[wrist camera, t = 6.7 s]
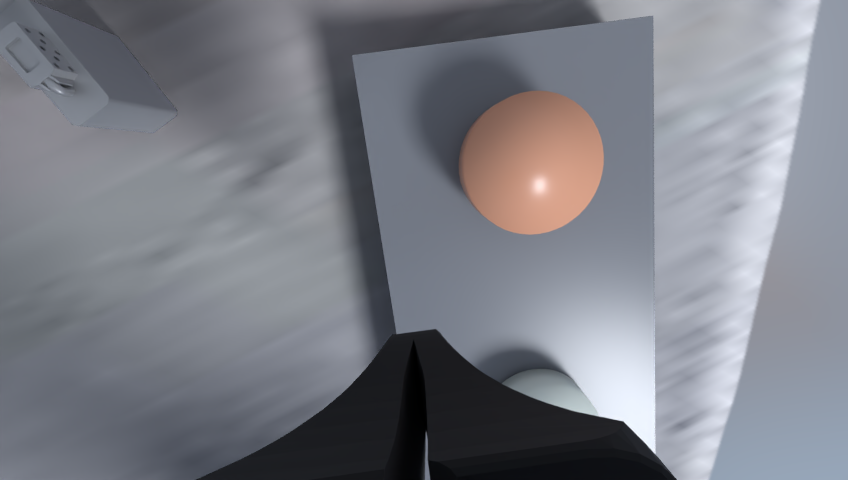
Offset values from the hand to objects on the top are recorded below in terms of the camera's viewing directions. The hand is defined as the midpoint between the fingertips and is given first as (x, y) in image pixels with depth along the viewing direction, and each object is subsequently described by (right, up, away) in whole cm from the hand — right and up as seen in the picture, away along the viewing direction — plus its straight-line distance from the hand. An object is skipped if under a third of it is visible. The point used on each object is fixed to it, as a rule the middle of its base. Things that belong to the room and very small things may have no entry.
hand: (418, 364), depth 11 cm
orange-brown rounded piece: (+4, +7, +7) cm, 11 cm away
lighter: (-14, +12, +7) cm, 19 cm away
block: (+5, +1, +10) cm, 11 cm away
